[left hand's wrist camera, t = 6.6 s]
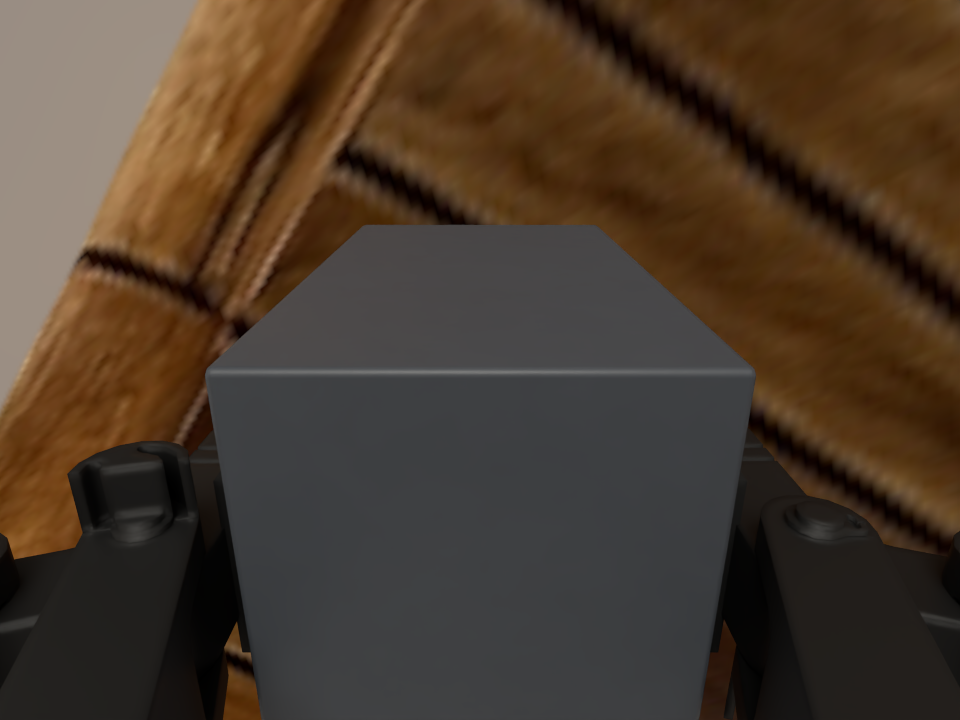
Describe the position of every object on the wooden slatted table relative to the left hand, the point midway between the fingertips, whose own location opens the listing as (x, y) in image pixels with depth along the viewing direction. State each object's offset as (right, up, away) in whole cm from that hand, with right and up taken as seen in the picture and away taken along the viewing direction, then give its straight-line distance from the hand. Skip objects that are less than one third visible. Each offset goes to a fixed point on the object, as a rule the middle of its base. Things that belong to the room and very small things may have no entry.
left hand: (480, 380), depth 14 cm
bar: (0, -8, +4) cm, 9 cm away
